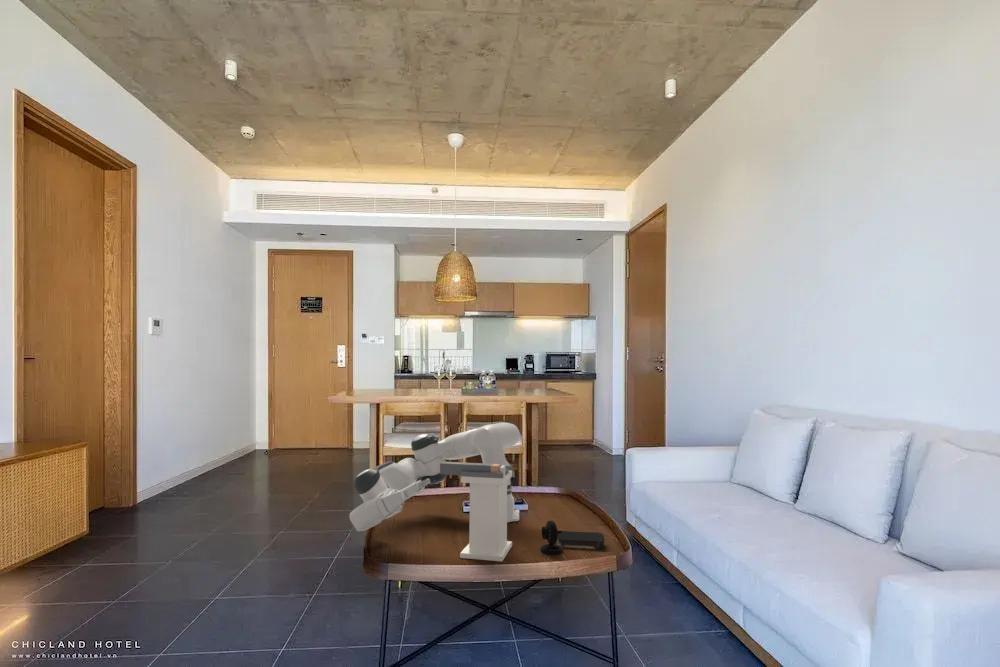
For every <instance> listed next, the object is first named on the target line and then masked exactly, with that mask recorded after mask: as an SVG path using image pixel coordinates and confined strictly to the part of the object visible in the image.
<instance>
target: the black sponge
mask: <svg viewBox="0 0 1000 667" xmlns="http://www.w3.org/2000/svg"><path fill="white" fill-rule="evenodd" d="M561 531H562V533H558V538H557V542H556V543H557V545H559V546H561V547H562V548H570V549H583V548H585V549H586V550H587V549H588V550H596V549H597V550H602V549H603V548H604V544H605V536H604V534H603V533H601V532H591V531H569V530H568V531H567V530H561ZM585 549H584V550H585Z"/></svg>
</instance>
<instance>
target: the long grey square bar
mask: <svg viewBox="0 0 1000 667" xmlns="http://www.w3.org/2000/svg"><path fill="white" fill-rule="evenodd" d="M462 471H468V472H488V473H500V464H485V463H483V462H481V463H480V462H479V463H478V462H462V461H461V462H460V461H457V462H456V461H444V462H442V463H440V474H445V475H447V476H461V472H462Z"/></svg>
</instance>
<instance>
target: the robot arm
mask: <svg viewBox="0 0 1000 667" xmlns="http://www.w3.org/2000/svg"><path fill="white" fill-rule="evenodd" d="M520 434H521V433H520V430H519V428H518V427H517V425H516V424H513V423H511V422H506V421H505V422H497V423H492V424H491V423H490V424H485V425H482V426H480V427H478V428H473V429H469V430H465V431H461V432H458V433H454V434H451V435H449V436H447V437H445V438H443V439H441V440H440V438H439V436H435V435H434V434H431V433H422V434H418V435H416V437H415V438H413V439H412V440H411V442H410V445H411V451H412V452H413V455H414V458H413V457H406V458H403V459H401V460H399V461H398V462H394V461H392V460H390V461H386V462H384V463H381V464H379V465H376V466H374V467H372V468H367V469H365V470H363V471H361V472H360V473H358V475H357V476H356V477H355V478H354V482H353V489H354V490H355V491H356V493H358V495H359V496H360V498H361V500H362V503H361V504H359V505H358V506H356V507H355V508H354V509H353V510H352V511H351V512H349V516H348V517H349V522H350V523H351V525H352V527H353V528H354V530H356V531H357V532H363V531H367V530H369V529H371V528H373V527H376V526H377V525H380V523H381V524H382V523H383V522H385V521H387V520H388V519H390V518H391V517H393V516H395V515H398V513H400V512H402V511H403V506H404V505H405V501H407V500H408V499H410V498H411V497H414V496H415V495H417V494H419V493H420V492H421V491H424V490H425V487H426V486H427V485H436V484H440V483H441V482H443V481H444V480H445V479H446V478H447V477H448V475H445V474H440V463H442V462H445V460H453V461H454V460H456V461H457V460H462V459H466V458H472V457H476V456H481V461H482V463H485V464H500V465H505V466H511V464H510V463H509V462H508V460H507V458H506V455H505V451H504V450H506V449H510V448H512V447H513V446H515V445H516V444H517V443H518V442H519V440H520V437H521V435H520ZM418 479H419V480H418ZM512 489H513V488H512V482H511V478H509V479H508V480H507V523H510V522H511V523H512V522H518V521H520V509H519V510H516V509H517V507H515V498H514V496H513V494H512Z"/></svg>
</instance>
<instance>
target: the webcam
mask: <svg viewBox="0 0 1000 667" xmlns="http://www.w3.org/2000/svg"><path fill="white" fill-rule="evenodd" d="M562 531H563V530H558V527H557V524H556V522H555V521H554V520H547V521H546V525H545V526H542V527H541V537H542V539H543V540H546V541H547V542H548V543H546V544H543V545H541V546H540V551H541V553H543V554H547V555H558V554H562V552H563V550H564V549H563V548H564V547H561V546H559V545H558V544H556V543H558V542H557V538H558V533H562Z"/></svg>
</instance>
